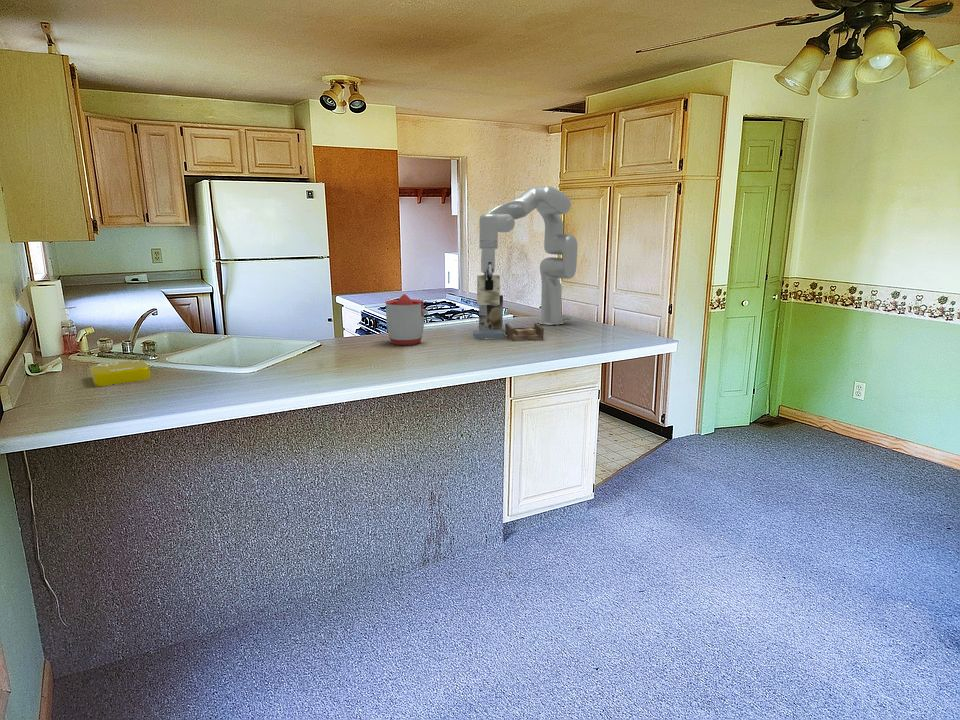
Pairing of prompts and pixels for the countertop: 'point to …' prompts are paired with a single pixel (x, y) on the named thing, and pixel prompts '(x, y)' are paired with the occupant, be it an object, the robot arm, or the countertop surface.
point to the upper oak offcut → (524, 332)
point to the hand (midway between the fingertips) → (488, 288)
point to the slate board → (488, 334)
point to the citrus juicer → (405, 320)
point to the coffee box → (491, 316)
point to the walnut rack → (539, 335)
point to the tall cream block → (488, 291)
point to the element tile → (119, 372)
